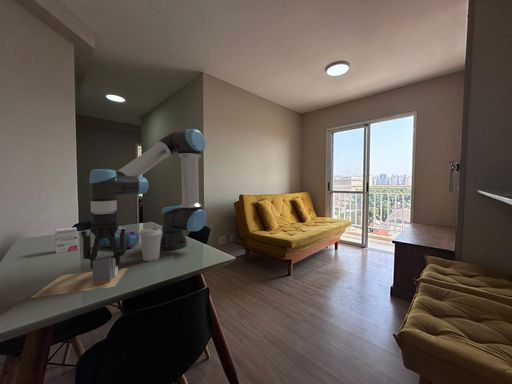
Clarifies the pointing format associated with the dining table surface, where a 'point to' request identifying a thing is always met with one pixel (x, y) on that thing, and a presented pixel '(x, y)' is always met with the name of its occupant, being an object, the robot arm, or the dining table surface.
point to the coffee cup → (150, 243)
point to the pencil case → (130, 239)
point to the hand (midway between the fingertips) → (106, 275)
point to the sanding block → (103, 268)
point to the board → (77, 283)
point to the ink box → (66, 239)
